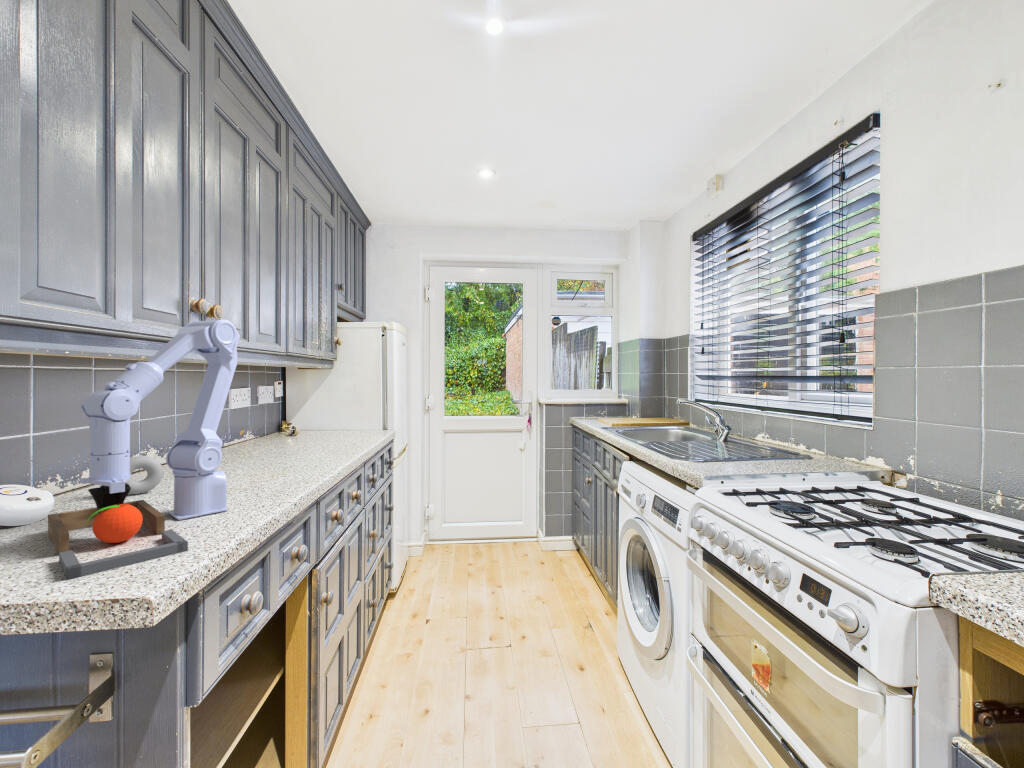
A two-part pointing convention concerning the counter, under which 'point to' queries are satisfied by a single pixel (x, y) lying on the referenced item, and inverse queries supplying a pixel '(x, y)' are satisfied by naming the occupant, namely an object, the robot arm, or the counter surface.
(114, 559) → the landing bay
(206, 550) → the counter surface
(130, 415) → the robot arm
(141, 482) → the donut
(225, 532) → the counter surface
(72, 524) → the brown wooden frame
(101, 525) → the clementine
